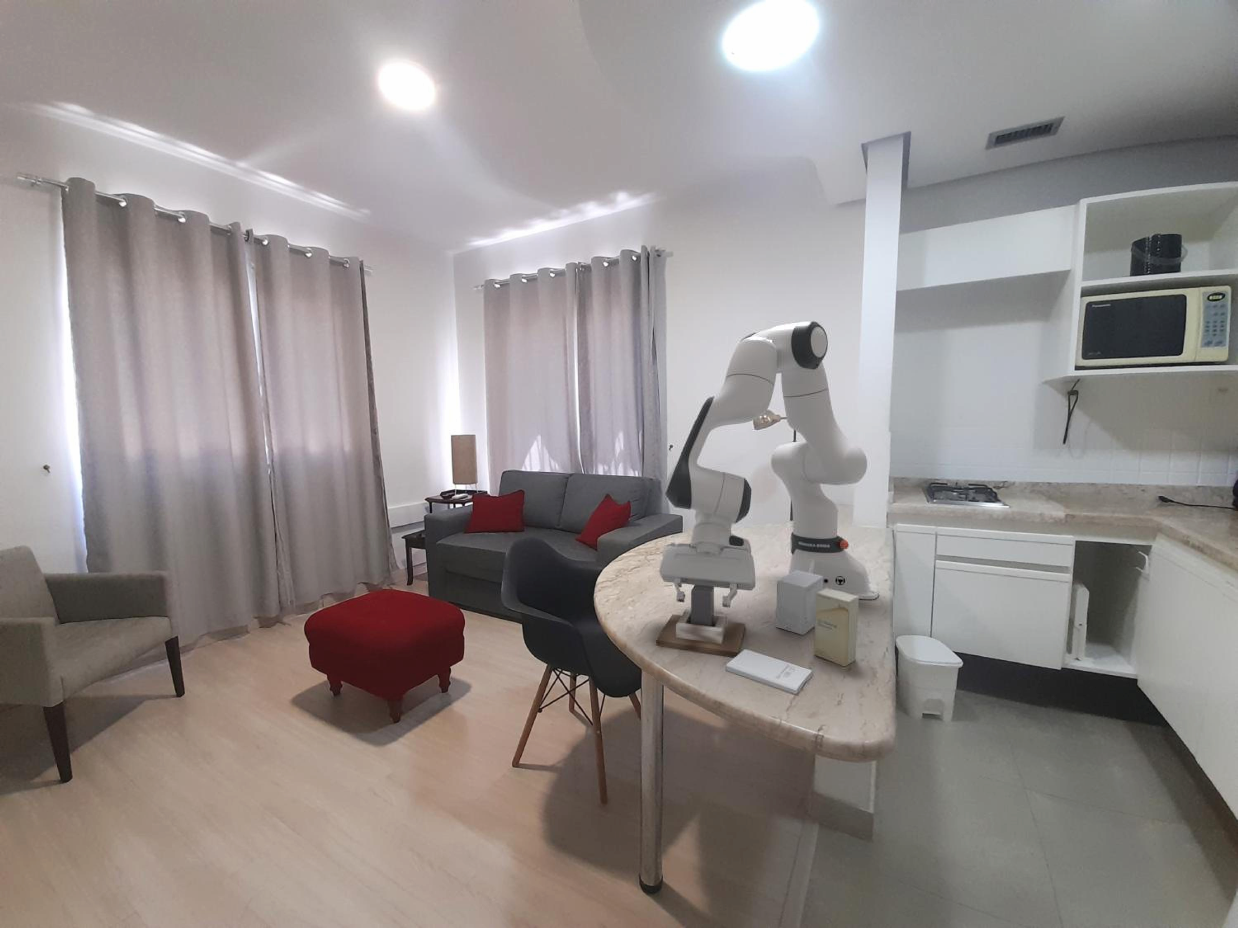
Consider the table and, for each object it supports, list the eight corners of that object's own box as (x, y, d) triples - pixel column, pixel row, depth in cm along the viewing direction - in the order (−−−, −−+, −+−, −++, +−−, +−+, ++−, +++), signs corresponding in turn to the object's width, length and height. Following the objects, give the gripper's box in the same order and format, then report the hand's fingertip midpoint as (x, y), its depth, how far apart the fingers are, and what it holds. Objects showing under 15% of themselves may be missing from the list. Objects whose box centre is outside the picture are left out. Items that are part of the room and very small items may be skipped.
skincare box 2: (813, 654, 89) (814, 592, 88) (824, 647, 92) (826, 586, 91) (846, 667, 84) (848, 601, 83) (857, 659, 87) (859, 595, 86)
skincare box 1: (804, 636, 97) (805, 586, 97) (774, 627, 102) (775, 579, 101) (823, 620, 105) (824, 574, 104) (794, 613, 109) (795, 569, 109)
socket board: (745, 627, 101) (745, 612, 101) (738, 657, 88) (738, 639, 88) (672, 618, 107) (672, 603, 107) (655, 644, 94) (655, 627, 94)
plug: (713, 628, 99) (713, 586, 98) (710, 636, 95) (711, 592, 94) (694, 626, 100) (694, 584, 99) (691, 633, 96) (691, 590, 96)
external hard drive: (745, 656, 90) (812, 677, 82) (725, 673, 84) (796, 698, 76) (745, 648, 90) (813, 668, 82) (725, 664, 84) (796, 688, 76)
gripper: (662, 534, 107) (650, 591, 98) (756, 541, 100) (752, 602, 91) (667, 549, 111) (656, 604, 103) (757, 556, 104) (754, 616, 96)
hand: (702, 603), depth 97 cm, fingers open, 8 cm apart
